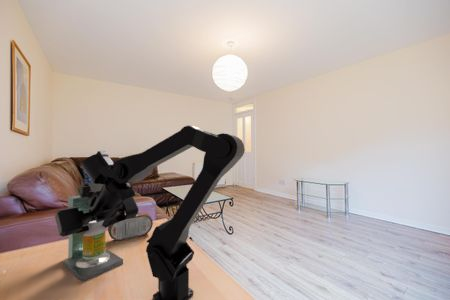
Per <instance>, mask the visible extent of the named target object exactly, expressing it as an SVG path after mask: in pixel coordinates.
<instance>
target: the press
mask: <svg viewBox="0 0 450 300" xmlns="http://www.w3.org/2000/svg"><path fill="white" fill-rule="evenodd" d="M88 201H89V199H88V198H86V197H84V198H81V197H80V196H79V194H77V195H70V196H68V197H67V208H71V207H78V210H79V211H81V210H83V213H87V212H89V209H91V207H89V206H88ZM90 219H91V218H90ZM67 256H68V257H67V258H65V259H63V265H64V266H65V267H66V268H67V269H68V271H69V272H71V274H73V275H74V276H75V277H76V278H77V279H78V280H79V281H80V282H81V283H83V282H86V281H88V280H90V279H93V278H95V277H97V276H99V275H102V274H104V273H105V272H108V271H110V270H113V269H114V268H116V267H119V266H122V265H123V264H124V259H123V258H121V257H120V256H119V255H117V254H115V253H113V252H112V251H110V250H109V249H107V248H105V253H104V254H103V255H102V256H100V257H98V258H95V259H84V258H83V235H80V233H74V234H71V235H68V255H67Z"/></svg>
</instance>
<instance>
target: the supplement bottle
mask: <svg viewBox="0 0 450 300" xmlns="http://www.w3.org/2000/svg"><path fill="white" fill-rule="evenodd" d="M103 222H104V221H100V222H96V221H92V222H89V224H88V227H89V230H88V231H87V232H86V233H84V234H83V258H84V259H95V258H98V257H100V256H102V255H103V254H104V253H105V249H106V238H107V237H106V228H105V227H104V226H102V224H103Z"/></svg>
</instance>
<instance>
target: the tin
mask: <svg viewBox="0 0 450 300" xmlns="http://www.w3.org/2000/svg"><path fill="white" fill-rule="evenodd" d="M153 222H154V221H153V219H152V217H151V215H150V214H149V213H147V212H138V214H137V215H136V216H135V217H131V218H128V219H127V218H126V219H125V220H123V221H121V222H118V223H116V224H113V225H111V226H109V227H107V233H108V236H109V237H110V238H111V239H113V240H115V241H124V240H130V239H135V238H139V237H144V236H146V235H147V234H148V233H150V231H151V230H152V228H153V224H154V223H153Z"/></svg>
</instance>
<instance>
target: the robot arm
mask: <svg viewBox="0 0 450 300" xmlns="http://www.w3.org/2000/svg"><path fill="white" fill-rule="evenodd" d="M191 148H195V149H197V150H199V151H200V152H204V155H203V163H202V168H201V171H200V172H199V173H198V175H197V177H196V179H195V180H194V181H193V183H192V185H191V187H190V189H189V190H188V192H187V193H186V195H185V197H184V198H183V200H182V202H181V203H180V205H179V207H178V208H177V210H176V211H175V213H174V214H173V216H172V218H170V219H168V220H166V221H164V222H163V223H161V224H159V225H157V226H156V227H155V228H154V230H153V232H152V234H151V236H150V238H149V239H147V240H146V243H148V244H147V245H146V248H145V252H146V255H147V260H148V263H149V266H150V271H151V275H152V277H153V278H157V280H158V281H157V282H158V283H157V284H158V286H157V288H158V290H157V291H156V292H155V293H153V295H152V299H153V300H187V299H189V298H190V297H192V295H194V293H195V292H194V289H192V288H190V287H189V282H190V278H189V277H190V275H189V274H190V270H189V269H190V268H188V264H189V263H190V262H191V261H192V260H193V258H194V254H195V251H194V250H193V248H192V247H191V246H190V245H189V243H188V239H189V232H190V227H191V226H192V225H193V223H194V221H195V220H196V219H197V217H198V215H199V213H200V212H201V210H202V209H203V207H204V206H205V204H206V202H207V201H208V199H209V198H210V196H211V194H212V193H213V192H214V190H215V188H216V187H217V185H218V183H220V180H221V179H222V177H223V176H225V175H226V174H227V173H228V172H229V171H231V169H232V168H234V166H235V165H236V164H237V163H238V162H239V161H240V160H241V159H242V158H243V156H244V154H245V151H246V149H245V143H243V140H242V139H241V138H239V137H238V136H236V135H232V134H230V133H229V134H228V133H223V132H221V133H218V134H216V133H212V132H209V131H206V130H203V129H202V128H200V127H197V126H193V125H186V126H185V125H184V126H183V127H182V128H181V129H180V130H179V131H177V132H175V133H174V134H172V135H170V136H168V137H166V138H165V139H163V140H161V141H159V142H158V143H156V144H155V145H153V146H151V147H150V148H147V149H146V150H144V151H142V152H139V153H136V154H131V155H128V156H123V157H120V158H118V159H116V160H115V161H113V160H112V159H111V158H110V155H109V154H108V153H107V152H106V151H105V150H99V151H96V153H95V154H92V155H90V156H88V157H87V158H85V159H83V160H82V162H81V168H82V169H83V170H84V172H85V173H86V174H87V176H88V177H89V178H90V180H91V181H92V182H88V183H81V184H80V185H79V187H78V189H77V190H78V191H77V195H79V196H80V197H81V198H84V197H86V198H88V199H89V201H88V206H89V207H91V209H89V212H87V213H83V210H81V211H79V210H78V207H71V208H69V207H67V208H62V209H61V208H60V209H58V210H56V211H57V212H56V213H55V215H54V218H55V222H56V227H57V229H58V233H59V236H61V237H68V236H69V235H71V234H74V233H80V235H83V234H84V233H86V232H87V231H88V230H89V227H88V224H89V222H92V221H96V222H100V221H103V224H102V226H104V227H105V229H106V228H108V227H109V226H111V225H113V224H116V223H118V222H121V221H123V220H125V219H126V218H127V219H128V218H131V217H135V216H136V215H137V214H138V213H140V212H139V210H140V209H139V206H138V205H137V202H136V200H135V196H136V192H135V190H134V189H133V186H131V183H134V182H139V181H143V180H145V179H146V178H147V177H149V175H151V174H152V173H153V171H154V170H155V169H156V168H157V166H159V165H161V164H163V163H165V162H168V160H171V159H172V158H174V157H176V156H178V155H180V154H182V153H184V152H186V151H187V150H189V149H191ZM90 218H91V219H90Z"/></svg>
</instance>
